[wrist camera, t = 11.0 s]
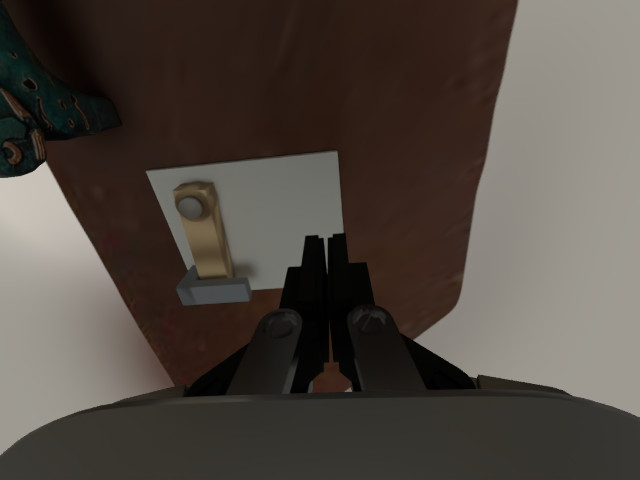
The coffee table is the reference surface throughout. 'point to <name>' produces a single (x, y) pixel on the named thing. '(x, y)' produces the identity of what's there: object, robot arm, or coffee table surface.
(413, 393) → the robot arm
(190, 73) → the coffee table surface
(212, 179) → the mounting board
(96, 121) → the ceramic cat
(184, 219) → the tan bar
